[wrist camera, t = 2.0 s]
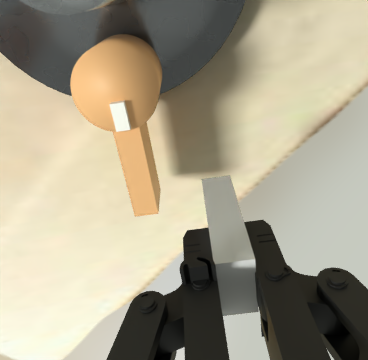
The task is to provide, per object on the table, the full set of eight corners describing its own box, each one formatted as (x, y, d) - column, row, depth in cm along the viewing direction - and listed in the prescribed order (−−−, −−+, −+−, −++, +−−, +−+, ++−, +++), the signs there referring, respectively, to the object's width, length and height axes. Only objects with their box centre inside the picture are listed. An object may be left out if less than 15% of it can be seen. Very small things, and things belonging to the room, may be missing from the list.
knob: (79, 40, 22) (56, 52, 17) (154, 28, 21) (149, 38, 17) (120, 189, 27) (109, 226, 23) (181, 181, 27) (181, 217, 22)
